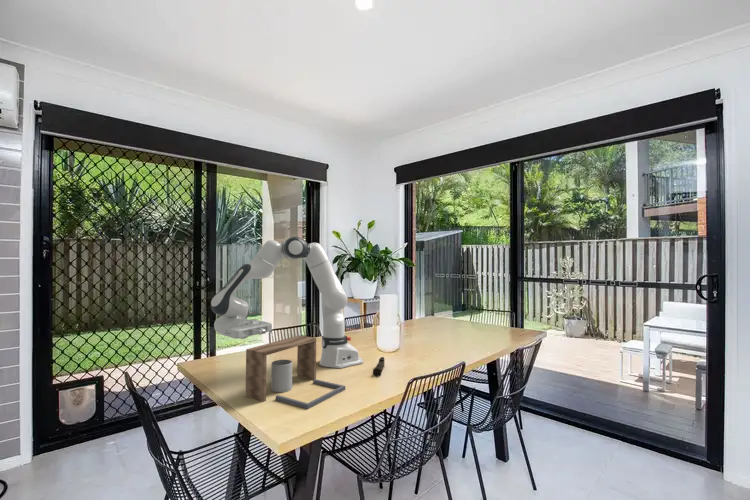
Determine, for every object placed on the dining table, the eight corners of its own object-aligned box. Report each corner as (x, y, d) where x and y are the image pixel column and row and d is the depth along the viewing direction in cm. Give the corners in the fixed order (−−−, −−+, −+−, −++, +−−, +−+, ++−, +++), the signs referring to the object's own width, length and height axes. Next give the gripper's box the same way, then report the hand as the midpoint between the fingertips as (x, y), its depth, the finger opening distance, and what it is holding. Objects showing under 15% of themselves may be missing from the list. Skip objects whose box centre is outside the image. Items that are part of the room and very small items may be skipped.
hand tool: (381, 377, 172) (381, 367, 172) (372, 376, 172) (372, 366, 173) (388, 365, 190) (388, 356, 190) (380, 365, 191) (380, 355, 191)
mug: (288, 393, 151) (288, 365, 151) (267, 392, 151) (268, 364, 152) (297, 382, 163) (297, 357, 163) (278, 382, 163) (278, 356, 163)
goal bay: (275, 399, 143) (275, 396, 143) (315, 382, 163) (315, 379, 163) (307, 409, 135) (307, 404, 135) (345, 389, 155) (345, 385, 155)
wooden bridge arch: (245, 396, 146) (246, 349, 147) (299, 375, 173) (299, 335, 173) (263, 401, 141) (264, 352, 142) (315, 379, 167) (316, 337, 168)
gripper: (222, 325, 162) (244, 328, 155) (259, 318, 179) (280, 321, 172) (222, 339, 162) (243, 344, 155) (259, 331, 179) (280, 335, 172)
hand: (263, 332), depth 164 cm, fingers closed
